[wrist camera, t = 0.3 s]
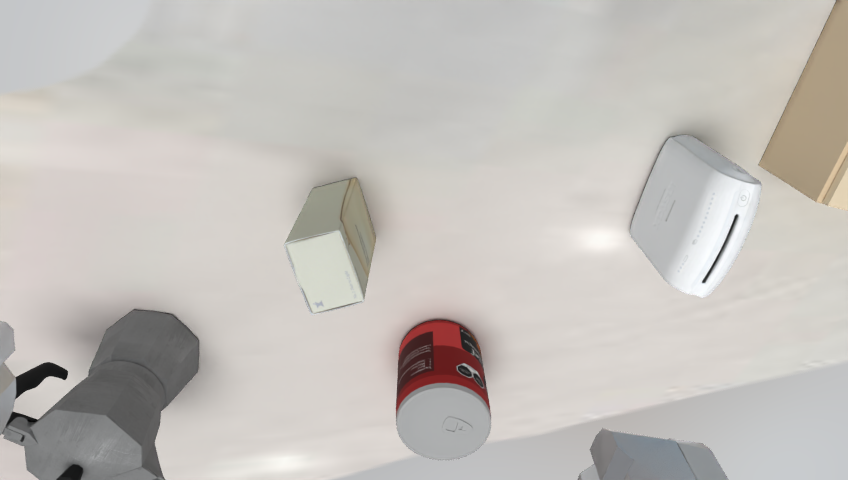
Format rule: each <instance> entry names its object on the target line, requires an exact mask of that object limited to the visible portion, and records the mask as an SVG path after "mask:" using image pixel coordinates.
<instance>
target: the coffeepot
mask: <svg viewBox="0 0 848 480" xmlns="http://www.w3.org/2000/svg"><path fill="white" fill-rule="evenodd" d="M198 343H199V341H198V340H197V338H196V337H195V336H194V335H193V333H192V332H191V331H190V330H189V329H188V328H187V326H185V325H184V324H183V323H182V322H180V321H179V320H177V319H176V318H175V317H174V316H173V315H170V314H166V313H161V312H157V311H137V310H133V311H132V312H130V313H129V314H127V315H126V316H124V317H123V318H121V319H120V320H119V321H118V322H117V323H115V324H114V325H112V326H111V327H110V328H108V329H107V331H106V333H105V335H104V337H103V340H102V342H101V344H100V347H99V349H98V351H97V353H96V356H95V358H94V360H93V362H92V365H91V367H90V369H89V375H88V377H87V378H86V379H84V380H83V381H82V382H80V383H79V384H78V385H77V386H75V387H74V388H73V389H72V390H71V391H70V392H69V393H67V394H66V395H65V396H64V397H63V398H62V399H61V400H60V401H58V402H57V403H56V404H55V405H54V406H53V407H52V408H51V409H50V410H48V411H47V412H46V413H45V414H44V415H43V416H42V417H41V418H40V419H38V420H37V419H34V418H31V417H28V416H26V415H23V414H19V413H16V412H12V413H11V416H10V418H9V420H8V422H7V424H6V426H5V428H4V431H3V432H2V434H3V435H4V439H7V440H9V441H11V442H14V443H16V444H19V445H21V446H24V448H25V457H26V466H27V470H28V471H29V472H30V473H32V474H33V475H34V476H35V477H37V478H38V479H39V480H165V479H164V477H163V474H162V471H161V468H160V464H159V460H158V456H157V452H156V447H155V443H154V442H155V439H156V436H157V432H158V429H159V426H160V417H161V411H162V410H163V409H164V408H165V407H167V406H168V405H169V404H170V402H171V401H172V400H173V399H174V398H175V397H176V396H177V395H178V393H179V392H180V391H181V390H182V389H183V388H184V387H185V385H186V384H187V383H188V382H189V381H190V380H191V379H192V377H193V376H194V375H195V374H196V373H197V372H198V360H199V348H198ZM67 375H68V371H67V370H65V369H64V368H62V367H60V366H58V365H56V364H54V363H50V362H47V363H43V364H41V365H39V366H37V367H35V368H33V369H31V370H29V371H27V372H25V373H23V374H21V375H19V376H17V377H15V378H16V397H15V399H16V398H18V397H19V396H20V395H21V394H22V393H23V392H25V391H27V390H30V389H32V388H35V387H37V386H38V385H39V384H40V383H41V382H42V381H43V380H44V379H45V378H46V377H48V376H54V377H58V378H62V379H63V380H66V378H67Z"/></svg>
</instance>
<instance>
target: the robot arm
mask: <svg viewBox="0 0 848 480" xmlns="http://www.w3.org/2000/svg"><path fill="white" fill-rule="evenodd" d="M14 351H15V343H14V330H13V328H12V327H11V326H9V325H8V324H7V323H6V322H2V321H0V435H1V434H2V432H3V431H4V428H5V426H6V424H7V422H8V420H9V418H10V416H11V413H12V411H13V407H14V402H15V397H16V378H15V376H14V375H13V374H12V372H11V371H10V370H9V369H8V367H7V366H6V365H5V363H4V361H5V360H6V359H7V358H8V357H9V356H10V355H11V354H12V353H13V352H14ZM590 451H591V454H592V457H593V461H594V464H593V465H592V466H591V467H589V468H588V469H586V470H585V471H583V472H581V473H580V475H579V478H578V480H728V478H727V476H726V475H725V473H724V471H723V470H722V468H721V466H720V464H719V463H718V461H717V459H716V458H715V456H714V454H713V452H712V451H711V450H710V449H709V448H708V447H707V446H705V445H704V444H702V443H696V442H689V441H682V440H676V439H662V438H656V437H650V436H644V435H638V434H633V433H627V432H621V431H615V430H609V429H602V430H601V431H600V432H599V433H598V434H597V435H596V437H595V439H594V442H593V444H592V446H591V448H590Z"/></svg>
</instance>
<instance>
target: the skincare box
mask: <svg viewBox="0 0 848 480" xmlns="http://www.w3.org/2000/svg"><path fill="white" fill-rule="evenodd" d="M375 241H376V236H375V233H374V230H373V226H372V223H371V219H370V216H369V213H368V210H367V207H366V204H365V201H364V198H363V194H362V191H361V188H360V185H359V182H358V180H357V178H353V179H348V180H344V181H340V182H336V183H332V184H328V185H324V186H320V187H317V188H313V189H312V191H311V193H310V195H309V197H308V199H307V201H306V203H305V205H304V207H303V209H302V211H301V212H300V214H299V216H298V218H297V220H296V222H295V224H294V226H293V228H292V230H291V232H290V234H289V236H288V238H287V240H286V242H285V244H284V247H285V250H286V253H287V256H288V259H289V261H290V264H291V267H292V269H293V272H294V275H295V277H296V280H297V282H298V285H299V287H300V290H301V292H302V294H303V297H304V299H305V302H306V304H307V307H308V309H309V311H310V314H311V315H315V314H319V313H324V312H328V311H333V310H336V309H340V308H345V307H348V306H352V305H356V304H359V303H363V302H364V298H365V292H366V287H367V282H368V276H369V271H370V266H371V261H372V256H373V251H374V246H375Z"/></svg>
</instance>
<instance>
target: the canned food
mask: <svg viewBox="0 0 848 480" xmlns="http://www.w3.org/2000/svg"><path fill="white" fill-rule="evenodd" d="M396 425H397V431H398V434H399V437H400V438H401V440H402V441H403V443H404V444H405V445H406V446H407V447H408V448H409V449H410V450H412V451H413V452H415V453H416V454H419V455H421V456H423V457H426V458H430V459H435V460H453V459H459V458H462V457H465V456H467V455H469V454H471V453H473V452H475V451H476V450H477V449H479V448H480V447H481V446H482V445H483V444H484V442H485V441H486V440H487V438H488V436H489V433H490V429H491V413H490V405H489V399H488V393H487V387H486V381H485V375H484V369H483V363H482V357H481V352H480V347H479V345H478V343H477V341H476V339H475V338H474V337H473V336H472V335H471V333H470V332H469V331H468V330H467V329H465V328H464V327H462V326H461V325H459V324H457V323H454V322H451V321H445V320H434V321H428V322H425V323H422V324H420V325H418V326H416V327H415V328H413V329H412V330H411V331H410V332H409V333H408V334H407V336H406V337H405V338H404V340H403V342H402V344H401V346H400V350H399V360H398V380H397V400H396Z"/></svg>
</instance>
